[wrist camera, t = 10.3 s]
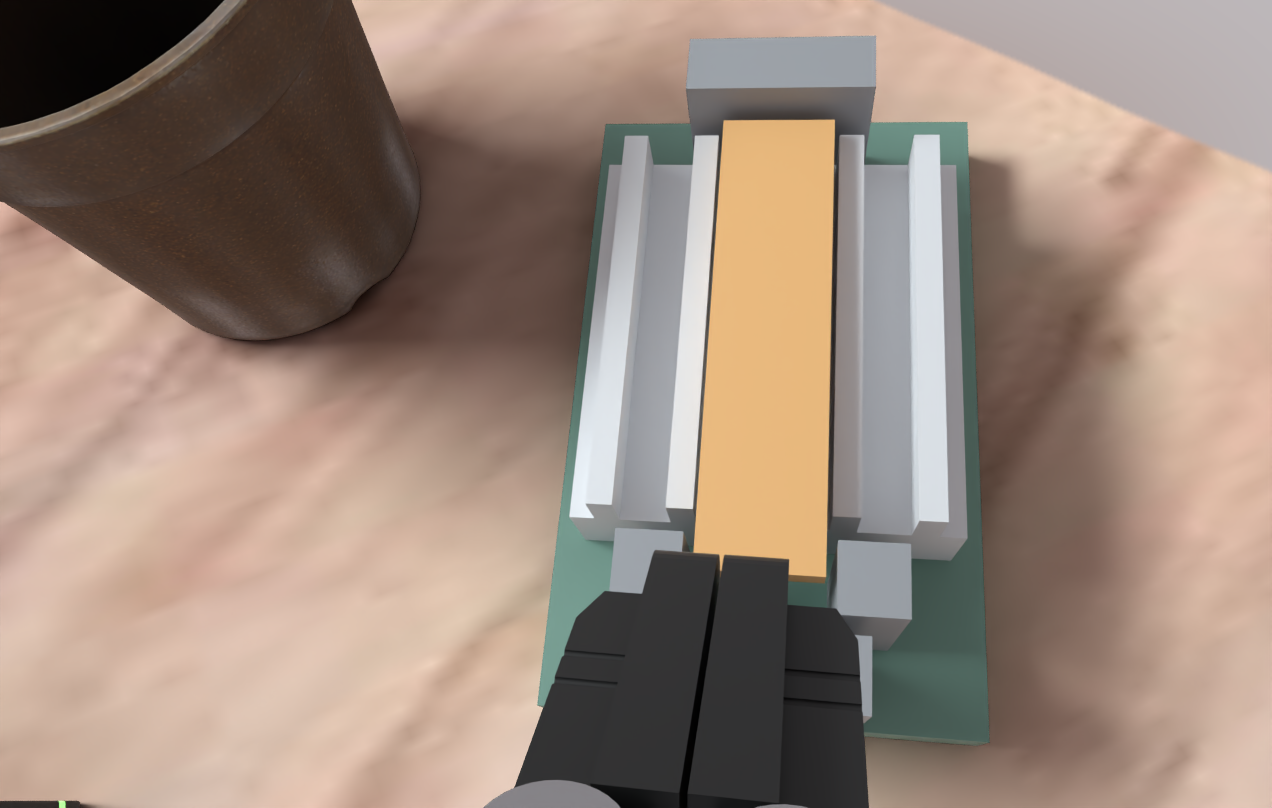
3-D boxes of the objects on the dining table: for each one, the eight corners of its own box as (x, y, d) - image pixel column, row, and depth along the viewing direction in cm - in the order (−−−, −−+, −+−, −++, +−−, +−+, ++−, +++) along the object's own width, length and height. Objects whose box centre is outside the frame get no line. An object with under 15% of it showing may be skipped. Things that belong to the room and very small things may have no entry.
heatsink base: (958, 153, 40) (1003, -5, 32) (976, 745, 32) (1043, 728, 24) (612, 153, 42) (576, 5, 34) (549, 710, 34) (483, 683, 26)
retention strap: (824, 583, 28) (826, 577, 27) (694, 575, 28) (692, 568, 27) (833, 135, 33) (834, 119, 33) (724, 135, 34) (723, 120, 33)
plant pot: (113, 104, 47) (-196, -221, 32) (449, 26, 46) (293, -345, 31) (101, 424, 41) (-288, 207, 26) (489, 341, 40) (319, 66, 25)
